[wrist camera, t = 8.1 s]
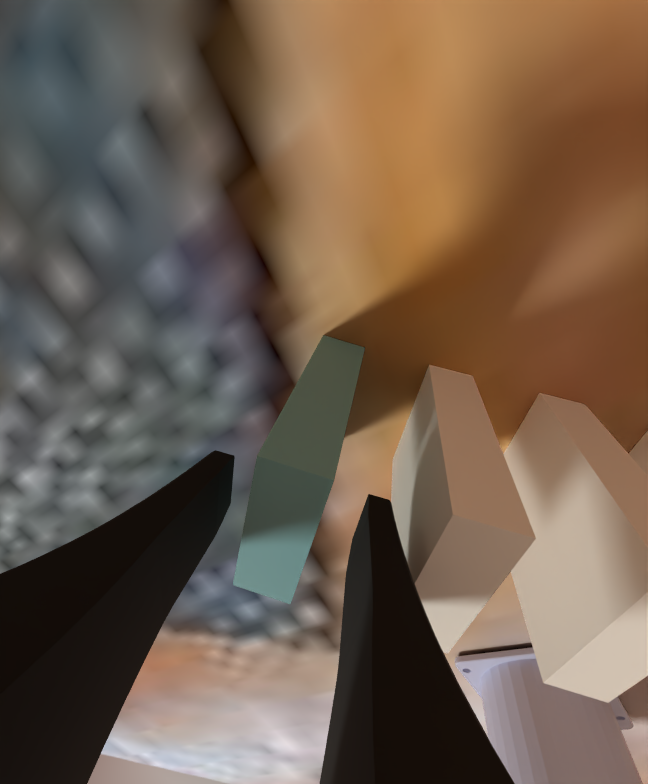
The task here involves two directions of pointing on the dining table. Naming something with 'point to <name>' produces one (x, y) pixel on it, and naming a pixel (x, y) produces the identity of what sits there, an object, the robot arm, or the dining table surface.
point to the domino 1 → (297, 472)
